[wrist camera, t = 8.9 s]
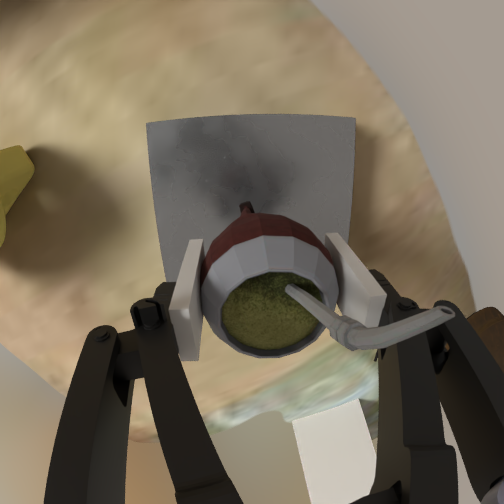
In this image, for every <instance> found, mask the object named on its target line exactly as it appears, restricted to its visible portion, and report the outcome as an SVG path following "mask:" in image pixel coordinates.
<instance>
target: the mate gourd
mask: <svg viewBox="0 0 504 504" xmlns="http://www.w3.org/2000/svg"><path fill="white" fill-rule="evenodd" d="M239 208H240V212H241V215H240V217H239V218H237V219H236V220H235V221H233V222H232V223H231V224H230V225H229V226H228V227H227V228H226V229H225V230H224V231H223V232H222V233H221V234H220V235H219V236H217V237H216V238H215V239H214V240H213V241H212V243H211V245H210V247H209V250H208V252H207V254H206V256H205V258H204V261H203V263H202V265H201V271H200V287H201V300H202V312H203V314H204V316H205V318H206V320H207V322H208V323H209V325H210V327H211V329H212V330H213V332H214V333H215V334H216V335H217V337H219V338H220V339H221V340H222V341H224V342H225V343H226V344H228V345H229V346H231V347H232V348H233V349H235V350H236V351H238V352H239V353H243V354H246V355H249V356H253V357H256V358H280V357H283V356H287V355H290V354H293V353H296V352H299V351H301V350H302V349H304V348H305V347H307V346H308V345H310V344H311V343H313V342H314V341H316V340H317V339H318V337H319V336H320V335H321V333H322V332H323V331H324V329H325V328H326V327H327V328H328V329H329V330H330V336H331V337H332V338H333V339H335V340H336V341H337V342H339V343H340V344H342V345H343V346H345V347H346V348H348V349H350V350H351V351H354V350H357V349H361V350H366V349H380V348H386V347H388V346H390V345H393V344H396V343H398V342H401V341H403V340H405V339H408V338H410V337H413V336H415V335H417V334H420V333H422V332H424V331H427V330H429V329H431V328H433V327H436V326H438V325H440V324H442V323H444V322H446V321H448V320H450V319H451V318H453V317H455V312H454V311H453V310H452V309H451V308H448V307H446V306H437V307H434V308H432V309H430V310H427V311H425V312H422V313H419V314H417V315H414V316H412V317H409V318H406V319H403V320H401V321H398V322H395V323H392V324H389V325H386V326H381V327H372V328H367V327H366V326H364V325H363V324H362V323H360V322H359V321H357V320H354V319H352V318H350V317H348V316H346V315H344V316H339V315H338V314H336V313H335V312H334V311H335V307H336V303H337V299H338V294H339V287H338V283H337V278H336V274H335V269H334V265H333V260H332V257H331V255H330V253H329V251H328V249H327V248H326V247H325V246H324V245H323V244H322V242H321V241H320V240H319V239H318V238H317V237H316V235H315V234H314V233H313V232H312V231H311V230H310V229H309V228H308V227H306V226H304V225H302V224H300V223H298V222H296V221H294V220H292V219H290V218H288V217H286V216H282V215H276V214H266V213H255V212H254V209H253V207H252V204H251V202H250V201H246V202H243V203H241V204H240V205H239Z"/></svg>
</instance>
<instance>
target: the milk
mask: <svg viewBox="0 0 504 504" xmlns="http://www.w3.org/2000/svg"><path fill="white" fill-rule="evenodd" d="M292 423H293V427H294V432H295V436H296V440H297V445H298V449H299V453H300V458H301V462H302V466H303V470H304V474H305V479H306V483H307V488H308V492H309V496H310V501H311V504H350V503H352V502H354V501H356V500H358V499H360V498H361V497H364V496H367V495H369V493H370V490H371V487H372V485H373V483H374V479H375V470H376V458H377V457H376V453H375V450H374V447H373V443H372V440H371V437H370V433H369V430H368V427H367V424H366V421H365V417H364V414H363V411H362V408H361V405H360V402H359V399H356V400H353V401H351V402H348V403H345V404H343V405H340V406H337V407H334V408H331V409H328V410H325V411H322V412H319V413H316V414H313V415H309V416H306V417H303V418H299V419H296V420H292Z"/></svg>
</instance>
